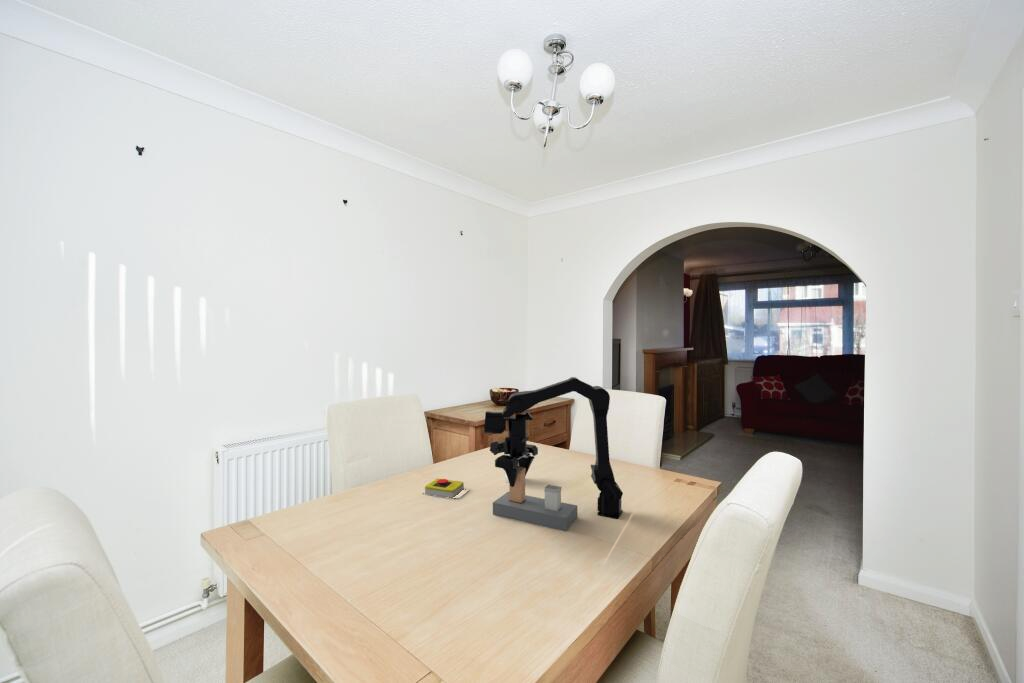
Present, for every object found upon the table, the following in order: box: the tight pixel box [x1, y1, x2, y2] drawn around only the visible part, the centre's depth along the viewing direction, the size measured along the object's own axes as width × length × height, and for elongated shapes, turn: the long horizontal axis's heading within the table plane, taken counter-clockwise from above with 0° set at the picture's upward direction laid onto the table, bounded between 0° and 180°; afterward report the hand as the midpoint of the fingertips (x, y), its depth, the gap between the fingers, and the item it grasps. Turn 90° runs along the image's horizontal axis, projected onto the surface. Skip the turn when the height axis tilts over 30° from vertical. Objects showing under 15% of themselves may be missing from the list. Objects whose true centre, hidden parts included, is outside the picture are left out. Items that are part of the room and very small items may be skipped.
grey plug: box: [544, 484, 562, 511], centre depth 131 cm, size 4×3×10 cm
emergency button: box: [424, 478, 465, 499], centre depth 154 cm, size 9×4×15 cm
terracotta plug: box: [508, 467, 526, 503], centre depth 137 cm, size 4×3×10 cm
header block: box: [492, 491, 578, 532], centre depth 134 cm, size 24×10×4 cm, turn 63°
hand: (517, 483), depth 136 cm, fingers open, 7 cm apart
